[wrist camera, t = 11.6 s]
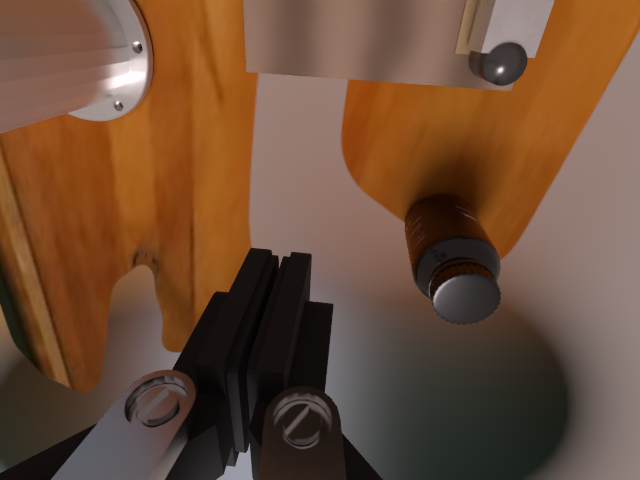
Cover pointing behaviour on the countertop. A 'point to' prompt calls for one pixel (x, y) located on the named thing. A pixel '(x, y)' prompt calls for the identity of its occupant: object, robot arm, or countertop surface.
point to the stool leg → (506, 37)
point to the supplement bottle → (453, 259)
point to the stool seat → (364, 40)
